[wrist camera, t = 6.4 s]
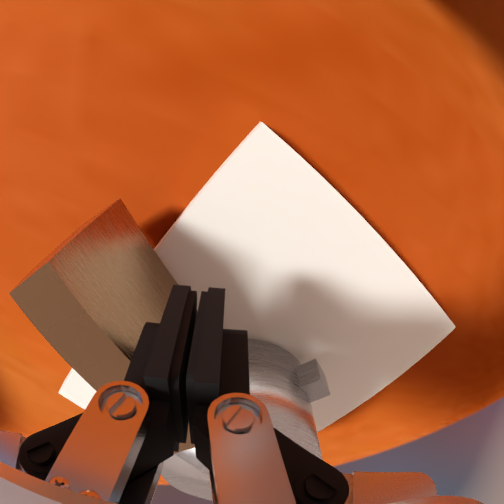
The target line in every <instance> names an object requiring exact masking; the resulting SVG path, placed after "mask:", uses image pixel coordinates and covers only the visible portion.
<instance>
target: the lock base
mask: <svg viewBox="0 0 504 504" xmlns="http://www.w3.org/2000/svg"><path fill="white" fill-rule="evenodd" d="M154 251H155V252H156V253H157V255H158V256H159V258H160V259H161V261H162V262H163V264H164V265H165V266H166V268H167V269H168V271H169V272H170V274H171V275H172V276H173V278H174V279H175V281H176V282H177V283H178V285H186V286H191V290H192V291H197V311H198V307H199V301H200V296H201V291H206V292H208V288H209V287H212V288H225V305H224V322H223V329H234V330H247V332H248V339H256V340H262V341H266V342H270V343H272V344H275V345H278V346H280V347H282V348H284V349H286V350H287V351H289V352H290V353H291V354H293V355H294V356H295V357H296V358H297V359H298V361H299V362H300V363H301V364H304V363H306V362H309V361H311V360H313V359H316V360H317V362H318V363H319V365H320V367H321V369H322V370H323V372H324V374H325V377H326V380H327V384H328V387H329V391H330V395H329V396H326V397H324V398H321V399H319V400H316V401H313V402H311V406H312V411H313V416H314V421H315V425H316V430H317V432H319V431H320V430H322V429H324V428H325V427H327V426H329V425H330V424H332V423H333V422H335V421H337V420H338V419H340V418H341V417H343V416H344V415H346V414H347V413H349V412H350V411H352V410H353V409H355V408H356V407H358V406H359V405H361V404H362V403H364V402H365V401H367V400H368V399H369V398H371V397H372V396H374V395H375V394H376V393H378V392H379V391H381V390H382V389H383V388H385V387H386V386H387V385H389V384H390V383H391V382H393V381H394V380H395V379H397V378H398V377H399V376H400V375H402V374H403V373H404V372H405V371H407V370H408V369H409V368H410V367H412V366H413V365H414V364H415V363H416V362H418V361H419V360H420V359H421V358H422V357H424V356H425V355H426V354H427V353H428V352H429V351H431V350H432V349H433V348H434V347H435V346H436V345H437V344H439V343H440V342H441V341H442V340H443V339H444V338H445V337H446V336H447V335H448V334H449V333H450V332H452V331H453V330H454V329H455V328H456V327H455V325H454V324H453V323H452V321H451V320H450V319H449V317H448V316H447V315H446V313H445V312H444V311H443V310H442V308H441V307H440V306H439V304H438V303H437V302H436V301H435V299H434V298H433V297H432V296H431V294H430V293H429V292H428V291H427V290H426V288H425V287H424V286H423V285H422V283H421V282H420V281H419V280H418V279H417V277H416V276H415V275H414V274H413V273H412V271H411V270H410V269H409V268H408V267H407V266H406V264H405V263H404V262H403V261H402V260H401V259H400V258H399V256H398V255H397V254H396V253H395V252H394V251H393V250H392V249H391V247H390V246H389V245H388V244H387V243H386V242H385V241H384V240H383V239H382V237H381V236H380V235H379V234H378V233H377V232H376V231H375V230H374V229H373V228H372V227H371V226H370V224H369V223H368V222H367V221H366V220H365V219H364V218H363V217H362V216H361V215H360V214H359V213H358V212H357V211H356V210H355V209H354V208H353V207H352V206H351V205H350V204H349V203H348V202H347V201H346V200H345V199H344V198H343V197H342V196H341V195H340V194H339V193H338V192H337V191H336V190H335V189H334V188H333V187H332V186H331V185H330V184H329V183H328V182H327V181H326V180H325V179H324V178H323V177H322V176H321V175H320V174H319V173H318V172H317V171H316V170H315V169H314V168H313V167H312V166H311V165H310V164H308V163H307V162H306V161H305V160H304V159H303V158H302V157H301V156H300V155H299V154H298V153H297V152H295V151H294V150H293V149H292V148H291V147H290V146H289V145H288V144H287V143H285V142H284V141H283V140H282V139H281V138H280V137H279V136H278V135H276V134H275V133H274V132H273V131H272V130H271V129H270V128H268V127H267V126H266V125H265V124H264V123H263V122H259V123H258V125H257V126H256V127H255V128H254V129H253V130H252V131H251V132H250V133H249V134H248V136H247V137H246V138H245V139H244V140H243V141H242V142H241V143H240V145H239V146H238V147H237V148H236V149H235V150H234V151H233V152H232V154H231V155H230V156H229V157H228V158H227V159H226V160H225V162H224V163H223V164H222V165H221V166H220V167H219V169H218V170H217V171H216V172H215V173H214V175H213V176H212V177H211V178H210V179H209V180H208V182H207V183H206V184H205V185H204V186H203V188H202V189H201V190H200V191H199V192H198V194H197V195H196V196H195V197H194V199H193V200H192V201H191V202H190V204H189V205H188V206H187V207H186V208H185V210H184V211H183V212H182V213H181V215H180V216H179V217H178V219H177V220H176V221H175V222H174V224H173V225H172V226H171V227H170V229H169V230H168V231H167V233H166V234H165V235H164V236H163V238H162V239H161V240H160V242H159V243H158V244H157V246H156V247H155V248H154ZM96 392H97V391H96V390H95V389H94V388H92V387H91V386H90V385H89V384H88V383H87V382H86V381H85V380H84V379H83V378H82V377H81V376H80V375H79V374H78V373H77V372H76V371H75V370H74V369H73V368H72V369H71V371H70V372H69V374H68V376H67V377H66V379H65V381H64V383H63V385H62V387H61V389H60V391H59V394H61V395H62V396H64V397H66V398H67V399H69V400H70V401H72V402H73V403H75V404H77V405H78V406H80V407H82V408H83V409H86V407H87V406H88V404H89V402H90V401H91V399H92V397H93V396H94V394H95V393H96Z"/></svg>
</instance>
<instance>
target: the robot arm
mask: <svg viewBox="0 0 504 504" xmlns="http://www.w3.org/2000/svg"><path fill="white" fill-rule="evenodd" d="M224 305H225V288H212V287H209V288H208V292H206V291H201V296H200V301H199V307H198V312H197V291H192V290H191V286H186V285H173V287H172V290H171V292H170V295H169V298H168V301H167V304H166V307H165V310H164V313H163V316H162V319H161V322H160V323H152V322H146V323H145V325H144V327H143V330H142V332H141V335H140V337H139V340H138V343H137V345H136V348H135V351H134V353H133V356H132V359H131V362H130V364H129V367H128V370H127V373H126V376H125V378H124V381H113V382H110V383H107V384H105V385H104V386H102V387H100V388H99V389H98V391H97V392H96V393H95V394H94V396H93V397H92V399H91V401H90V402H89V404H88V406H87V407H86V409H85V411H84V412H83V413H81V414H79V415H77V416H75V417H72V418H70V419H68V420H66V421H63V422H61V423H59V424H56V425H54V426H51V427H49V428H47V429H44V430H42V431H39V432H37V433H35V434H32V435H31V436H29V437H27V438H25V437H23V436H22V434H19V433H12V432H6V431H1V430H0V504H151V501H152V498H153V495H154V492H155V489H156V487H157V484H158V481H159V478H160V475H161V472H162V469H163V465H164V461H165V460H167V459H168V458H170V457H172V456H173V455H174V451H175V452H178V451H179V444H180V443H186V440H187V432H188V424H189V430H190V439H191V444H195V453H196V458H197V459H198V460H199V461H200V462H201V463H202V464H203V465H204V466H205V467H206V468H207V469H208V470H209V479H210V486H211V493H212V499H213V504H483V503H481V502H479V501H477V500H474V499H471V498H466V497H460V496H437V492H436V487H435V484H434V482H433V481H432V479H431V478H430V477H429V476H427V475H426V474H424V473H419V472H390V473H389V472H357V471H354V472H353V473H352V474H342V473H341V472H339V471H338V470H337V469H335V468H334V467H332V466H331V465H329V464H328V463H326V462H324V461H323V460H321V459H320V458H318V457H316V456H315V455H313V454H312V453H310V452H309V451H307V450H306V449H304V448H303V447H301V446H300V445H298V444H297V443H295V442H294V441H292V440H291V439H290V438H288V437H287V436H285V435H284V434H282V433H281V432H280V431H278V430H277V429H275V428H274V427H273V425H272V422H271V418H270V415H269V412H268V410H267V408H266V406H265V405H264V404H263V403H262V402H261V401H260V400H259V399H257V398H255V397H254V396H252V395H250V383H249V356H248V332H247V330H234V329H223V322H224Z"/></svg>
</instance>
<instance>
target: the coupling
mask: <svg viewBox="0 0 504 504" xmlns="http://www.w3.org/2000/svg"><path fill="white" fill-rule="evenodd" d="M173 285H178V283H177V282H176V281H175V279H174V278H173V276H172V275H171V274H170V272H169V271H168V269H167V268H166V266H165V265H164V264H163V262H162V261H161V259H160V258H159V256H158V255H157V253H156V252H155V251H154V249H153V248H152V246H151V245H150V243H149V242H148V240H147V239H146V237H145V236H144V234H143V233H142V231H141V230H140V228H139V227H138V225H137V224H136V222H135V221H134V219H133V217H132V216H131V214H130V213H129V211H128V210H127V208H126V207H125V205H124V203H123V202H122V200H121V199H119V200H117V201H116V202H114V203H113V204H111V205H110V206H109V207H107V208H106V209H104V210H103V211H101V212H100V213H99V214H97V215H96V216H94V217H93V218H92V219H90V220H89V221H87V222H86V223H85V224H83V225H82V226H81V227H80V228H79V229H77V230H76V231H75V232H74V233H73V234H72V235H70V236H69V237H68V238H67V239H66V240H65V241H64V242H62V243H61V244H60V245H59V246H58V247H57V248H56V249H55V250H54V251H52V252H51V253H50V254H49V255H48V256H47V257H46V258H45V259H44V260H43V261H42V262H41V263H40V264H38V265H37V266H36V267H35V268H34V269H33V270H32V271H31V272H30V273H29V274H28V275H27V276H26V277H25V278H24V279H23V280H22V281H21V282H20V283H19V284H18V285H17V286H16V287H15V288H14V289H13V290H12V291H11V292H10V293H9V294H10V295H11V296H12V298H13V299H14V300H15V302H16V303H17V304H18V306H19V307H20V308H21V310H22V311H23V312H24V313H25V315H26V316H27V317H28V318H29V320H30V321H31V322H32V323H33V325H34V326H35V327H36V328H37V329H38V331H39V332H40V333H41V334H42V335H43V336H44V338H45V339H46V340H47V341H48V342H49V343H50V344H51V346H52V347H53V348H54V349H55V350H56V351H57V352H58V353H59V354H60V355H61V356H62V357H63V359H64V360H65V361H66V362H67V363H68V364H69V365H70V366H71V367H72V368H73V369H74V370H75V371H76V372H77V373H78V374H79V375H80V376H81V377H82V378H83V379H84V380H85V381H86V382H87V383H88V384H89V385H90V386H91V387H92V388H94V389H95V390H96V391H98V389H99V388H100V387H102V386H104V385H105V384H107V383H110V382H113V381H124V378H125V376H126V373H127V370H128V367H129V364H130V362H131V359H132V356H133V353H134V351H135V348H136V345H137V343H138V340H139V337H140V335H141V332H142V330H143V327H144V325H145V323H146V322H152V323H160V322H161V319H162V316H163V313H164V310H165V307H166V304H167V301H168V298H169V295H170V292H171V290H172V287H173ZM197 312H198V311H197ZM248 356H249V383H250V395H252V396H254V397H255V398H257V399H259V400H260V401H261V402H262V403H263V404H264V405H265V406H266V408H267V410H268V412H269V415H270V418H271V422H272V425H273V427H274V428H275V429H277V430H278V431H280V432H281V433H282V434H284V435H285V436H287V437H288V438H290V439H291V440H292V441H294V442H295V443H297V444H298V445H300V446H301V447H303V448H304V449H306V450H307V451H309V452H310V453H312V454H313V455H315V456H316V457H318V458H320V459H321V460H322V455H321V450H320V445H319V440H318V435H317V430H316V425H315V421H314V416H313V411H312V406H311V402H313V401H316V400H319V399H321V398H324V397H326V396H329V395H330V391H329V387H328V384H327V380H326V377H325V374H324V372H323V370H322V369H321V367H320V365H319V363H318V362H317V360H316V359H313V360H311V361H309V362H306V363H304V364H301V363H300V362H299V361H298V359H297V358H296V357H295V356H294V355H293V354H291V353H290V352H289V351H287V350H286V349H284V348H282V347H280V346H278V345H275V344H272V343H270V342H266V341H262V340H256V339H248ZM161 474H162V476H163V477H164V479H165V480H166V481H167V482H168V483H169V484H171V485H172V486H174V487H175V488H177V489H179V490H181V491H183V492H185V493H188V494H190V495H193V496H196V497H200V498H204V499H208V500H213V499H212V493H211V486H210V479H209V470H208V469H207V468H206V467H205V466H204V465H203V464H202V463H201V462H200V461H199V460H198V459H197V458H196V453H195V444H191V439H190V430H189V424H188V432H187V440H186V443H180V444H179V451H178V452H175V451H174V455H173V456H172V457H170V458H168V459H167V460H165V461H164V465H163V469H162V472H161Z"/></svg>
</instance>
